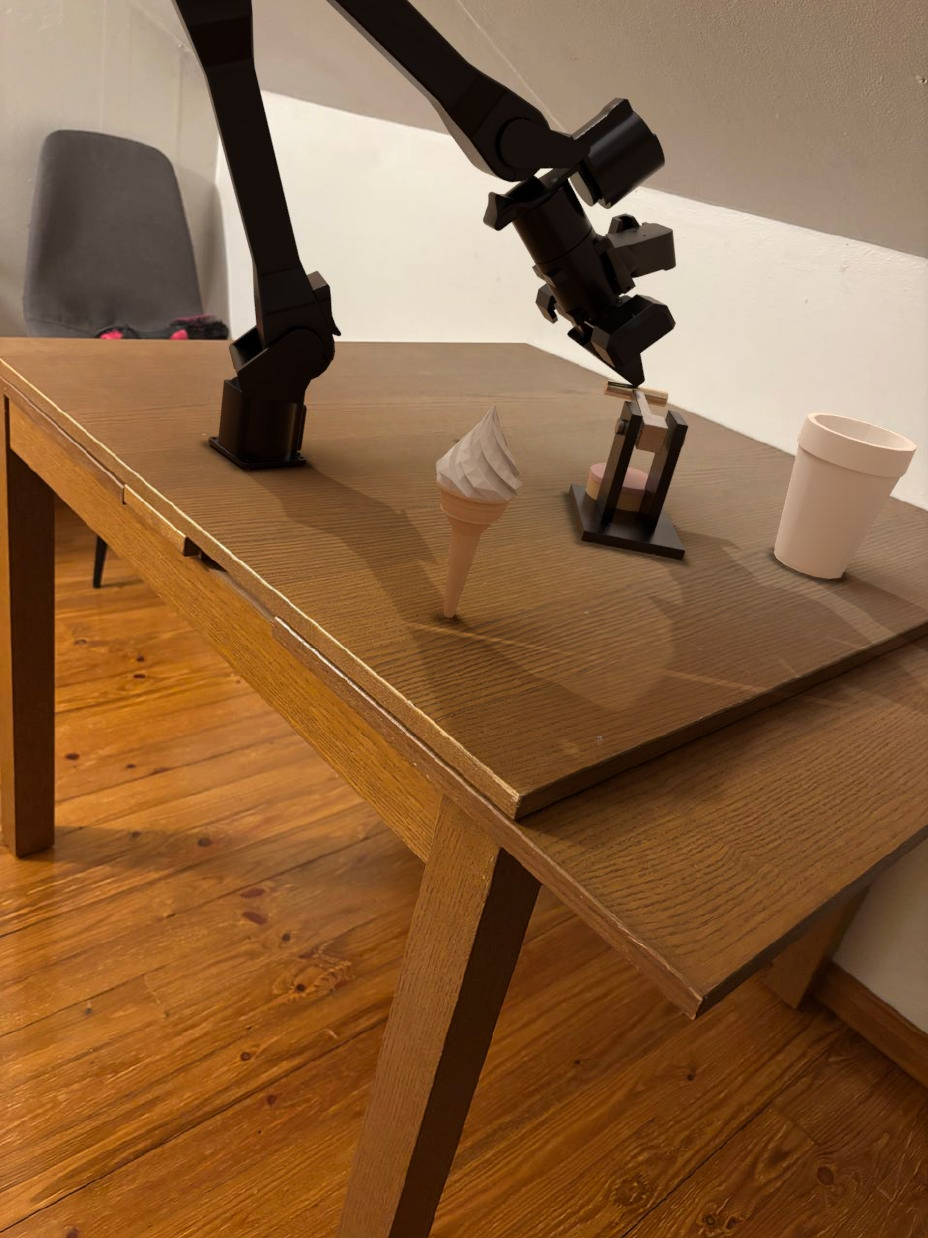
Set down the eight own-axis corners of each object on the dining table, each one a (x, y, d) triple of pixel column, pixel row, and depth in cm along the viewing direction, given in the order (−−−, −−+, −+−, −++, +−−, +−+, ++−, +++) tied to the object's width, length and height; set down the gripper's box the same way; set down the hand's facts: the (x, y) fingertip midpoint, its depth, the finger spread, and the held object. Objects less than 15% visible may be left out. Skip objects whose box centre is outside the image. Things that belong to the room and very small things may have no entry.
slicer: (567, 494, 95) (597, 384, 90) (657, 512, 95) (692, 404, 91) (580, 543, 84) (615, 421, 79) (681, 563, 85) (721, 444, 80)
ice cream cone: (459, 648, 63) (512, 424, 56) (389, 614, 65) (432, 394, 59) (502, 622, 68) (555, 411, 61) (435, 591, 70) (479, 384, 63)
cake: (618, 527, 90) (629, 492, 88) (567, 498, 94) (576, 465, 92) (662, 519, 94) (673, 486, 92) (611, 493, 98) (621, 460, 96)
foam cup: (752, 565, 88) (804, 426, 82) (759, 534, 96) (808, 405, 90) (859, 599, 86) (921, 459, 80) (857, 565, 94) (913, 435, 88)
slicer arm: (601, 396, 95) (608, 372, 94) (660, 408, 96) (668, 385, 94) (614, 444, 85) (622, 418, 84) (681, 458, 85) (690, 432, 84)
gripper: (689, 199, 77) (760, 358, 85) (596, 171, 92) (665, 308, 101) (572, 287, 77) (654, 435, 86) (500, 245, 93) (576, 374, 102)
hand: (638, 382), depth 94 cm, fingers closed
